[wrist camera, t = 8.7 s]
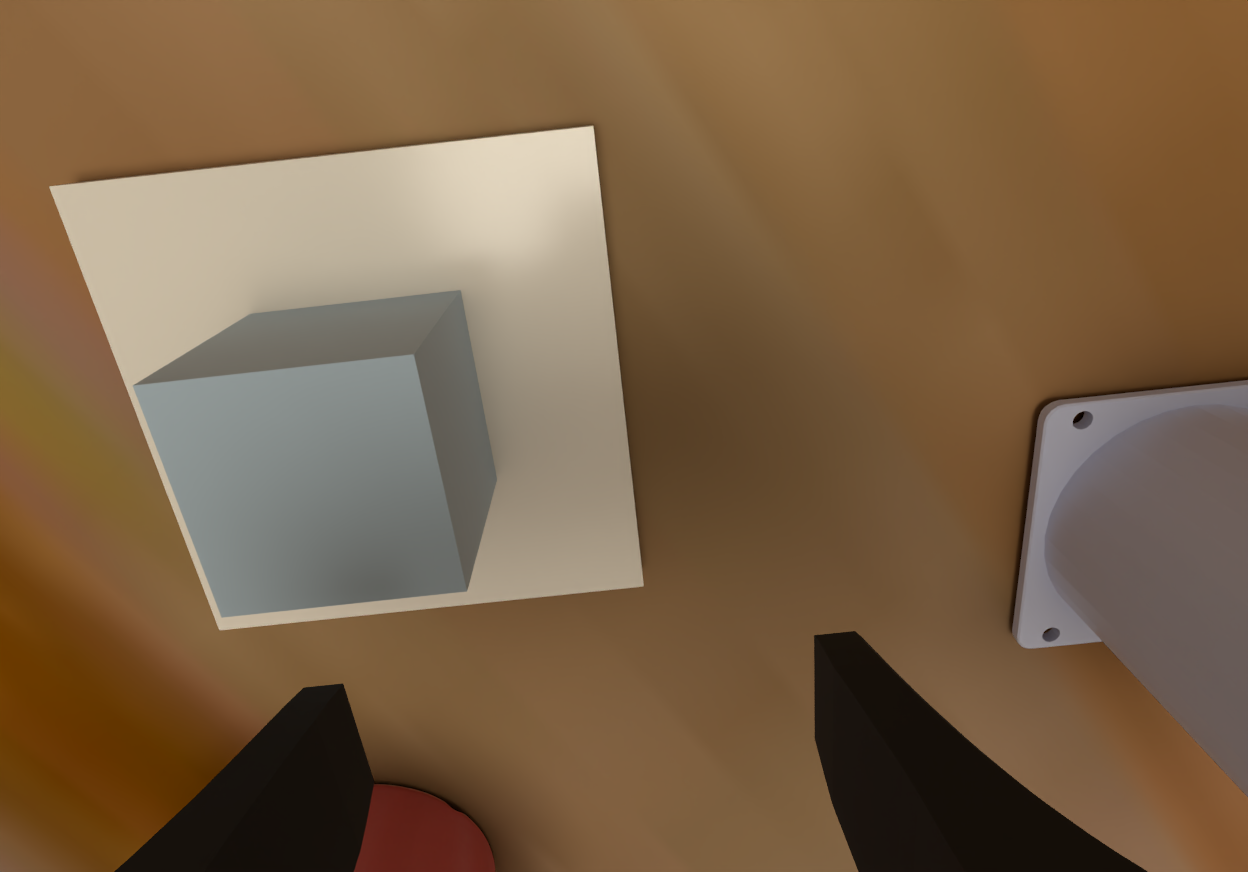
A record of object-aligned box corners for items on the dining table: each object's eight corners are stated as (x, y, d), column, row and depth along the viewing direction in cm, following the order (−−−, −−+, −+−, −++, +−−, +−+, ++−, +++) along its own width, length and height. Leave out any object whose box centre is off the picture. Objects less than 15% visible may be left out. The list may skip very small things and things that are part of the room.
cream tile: (593, 124, 18) (593, 125, 17) (641, 566, 22) (643, 586, 22) (77, 182, 18) (49, 186, 17) (234, 608, 23) (219, 630, 22)
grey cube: (460, 290, 18) (413, 354, 14) (497, 479, 20) (467, 591, 16) (250, 314, 18) (132, 385, 14) (307, 500, 20) (221, 617, 16)
